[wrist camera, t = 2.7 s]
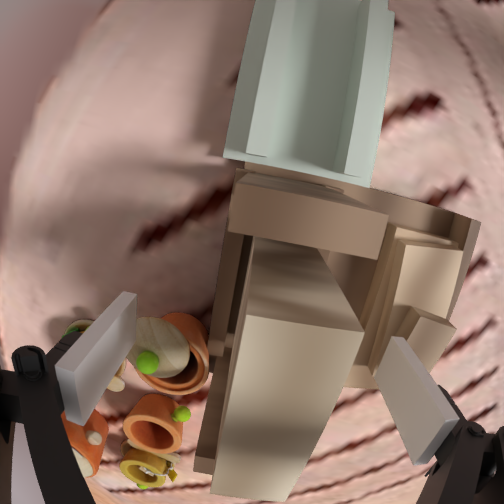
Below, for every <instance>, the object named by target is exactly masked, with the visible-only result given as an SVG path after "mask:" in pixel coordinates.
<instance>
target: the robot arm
mask: <svg viewBox="0 0 504 504" xmlns="http://www.w3.org/2000/svg"><path fill="white" fill-rule="evenodd" d="M136 315H137V294H134V293H130V292H126V291H123V292H122V293H121V294H120V295H119V296H118V297H117V298H116V299H115V300H114V301H113V302H112V303H111V304H110V305H109V306H108V307H107V308H106V309H105V311H104V312H103V313H102V314H101V315H100V316H99V317H98V318H97V319H96V320H95V321H94V322H93V323H92V324H91V326H90V327H89V328H88V329H87V330H86V331H85V332H84V333H80V332H77V331H73V332H71V333H69V334H67V335H65V336H64V337H63V338H62V339H61V340H60V341H59V343H57V344H56V345H55V346H54V348H52V349H51V350H50V351H49V352H48V353H47V354H46V355H45V353H44V351H43V350H42V349H41V348H39V347H36V346H28V345H27V346H22V347H20V348H18V349H16V350H15V351H14V352H13V353H12V357H11V358H12V362H13V366H14V370H15V372H13V371H8V370H2V369H1V366H0V504H11V472H12V455H13V441H14V432H15V423H16V422H18V423H22V424H24V428H25V433H26V438H27V442H28V446H29V450H30V454H31V458H32V462H33V466H34V469H35V473H36V476H37V480H38V483H39V486H40V489H41V492H42V495H43V498H44V501H45V504H96V503H95V501H94V499H93V497H92V495H91V492H90V490H89V488H88V486H87V484H86V481H85V479H84V477H83V475H82V472H81V470H80V467H79V465H78V462H77V460H76V457H75V455H74V452H73V450H72V447H71V444H70V441H69V439H68V436H67V433H66V430H65V427H64V424H63V421H62V418H61V414H62V413H63V411H65V415H66V419H67V420H68V421H71V422H73V423H76V424H79V425H81V426H84V425H85V424H86V422H87V420H88V419H89V417H90V415H91V413H92V412H93V410H94V408H95V407H96V405H97V403H98V402H99V400H100V398H101V397H102V395H103V393H104V392H105V390H106V388H107V387H108V385H109V383H110V382H111V380H112V378H113V377H114V375H115V374H116V372H117V370H118V369H119V367H120V365H121V364H122V362H123V361H124V359H125V357H126V356H127V354H128V353H129V351H130V349H131V348H132V346H133V345H134V343H135V342H136ZM374 379H375V381H376V383H377V385H378V387H379V389H380V391H381V394H382V396H383V398H384V400H385V402H386V404H387V407H388V409H389V411H390V413H391V415H392V418H393V420H394V422H395V424H396V427H397V429H398V431H399V433H400V436H401V438H402V440H403V442H404V445H405V447H406V449H407V452H408V454H409V456H410V459H411V461H412V463H413V465H421V464H427V463H428V462H429V461H430V459H431V458H432V457H433V456H434V454H435V456H436V458H437V461H436V462H435V464H434V465H433V466H432V467H431V468H430V470H429V471H428V472H427V473H426V475H425V477H427V476H428V474H429V476H428V479H427V481H426V483H425V486H424V488H423V490H422V492H421V494H420V497H419V499H418V501H417V503H416V504H504V426H502V427H500V428H499V430H498V431H497V433H496V434H489V433H486V432H485V430H484V428H483V427H482V426H481V425H479V424H478V423H475V422H472V421H470V422H467V420H466V419H465V417H464V416H463V414H462V413H461V411H460V410H459V408H458V407H457V405H455V402H454V401H453V399H451V396H450V395H449V394H448V392H447V391H446V390H445V389H444V388H442V387H441V386H440V385H437V384H436V382H435V381H434V380H433V378H432V377H431V375H430V374H429V372H428V371H427V369H426V368H425V367H424V365H423V364H422V362H421V361H420V360H419V358H418V357H417V355H416V354H415V353H414V351H413V350H412V348H411V347H410V346H409V344H408V343H407V342H406V340H405V339H404V337H395V336H391V339H390V341H389V344H388V346H387V349H386V351H385V353H384V356H383V358H382V361H381V363H380V365H379V367H378V370H377V372H376V374H375V376H374ZM495 470H496V473H495V475H494V471H495Z"/></svg>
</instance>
